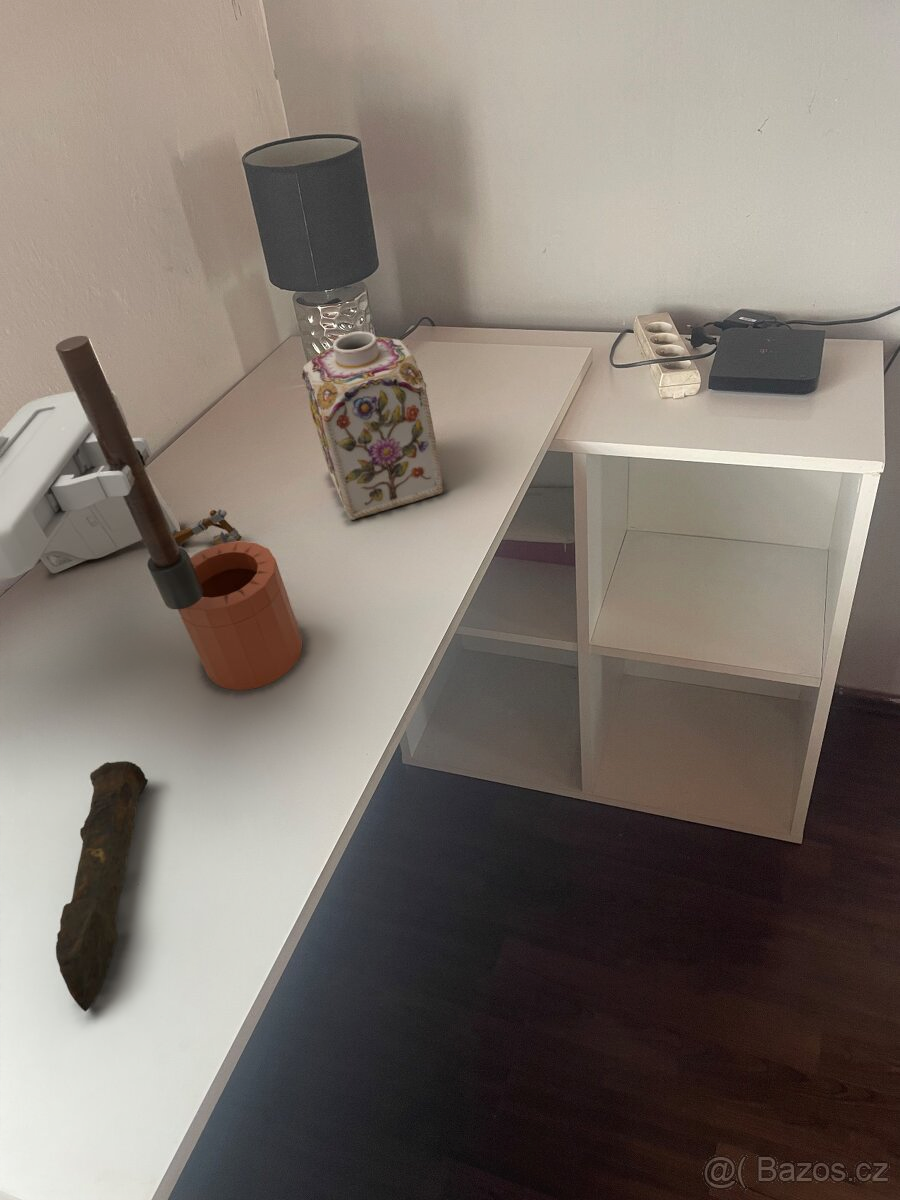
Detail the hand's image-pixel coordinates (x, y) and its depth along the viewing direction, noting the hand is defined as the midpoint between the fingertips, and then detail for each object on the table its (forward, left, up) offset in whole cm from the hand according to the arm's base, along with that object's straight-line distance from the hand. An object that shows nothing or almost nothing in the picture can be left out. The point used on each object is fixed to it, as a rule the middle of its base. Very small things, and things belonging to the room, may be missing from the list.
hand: (138, 465), depth 62 cm
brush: (-1, -1, -13) cm, 13 cm away
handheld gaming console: (-31, +7, -25) cm, 41 cm away
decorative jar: (-12, +33, -25) cm, 43 cm away
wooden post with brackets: (-22, +14, -25) cm, 36 cm away
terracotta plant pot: (-3, +5, -25) cm, 26 cm away
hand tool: (+7, -18, -25) cm, 32 cm away
